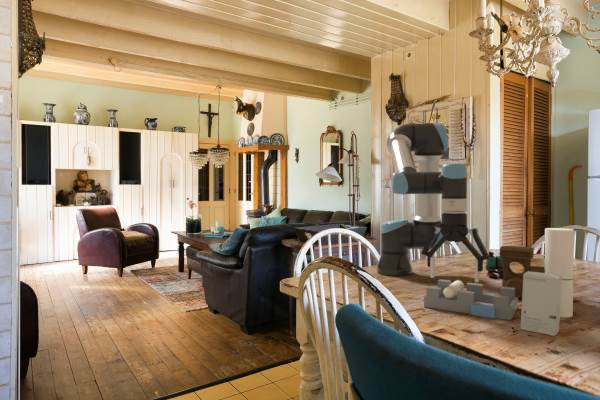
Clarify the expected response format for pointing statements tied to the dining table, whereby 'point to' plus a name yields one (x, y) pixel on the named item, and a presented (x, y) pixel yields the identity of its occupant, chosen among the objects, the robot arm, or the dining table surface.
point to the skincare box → (541, 303)
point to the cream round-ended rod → (453, 289)
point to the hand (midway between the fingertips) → (454, 279)
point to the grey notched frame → (473, 301)
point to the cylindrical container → (561, 263)
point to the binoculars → (494, 266)
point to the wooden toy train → (520, 256)
